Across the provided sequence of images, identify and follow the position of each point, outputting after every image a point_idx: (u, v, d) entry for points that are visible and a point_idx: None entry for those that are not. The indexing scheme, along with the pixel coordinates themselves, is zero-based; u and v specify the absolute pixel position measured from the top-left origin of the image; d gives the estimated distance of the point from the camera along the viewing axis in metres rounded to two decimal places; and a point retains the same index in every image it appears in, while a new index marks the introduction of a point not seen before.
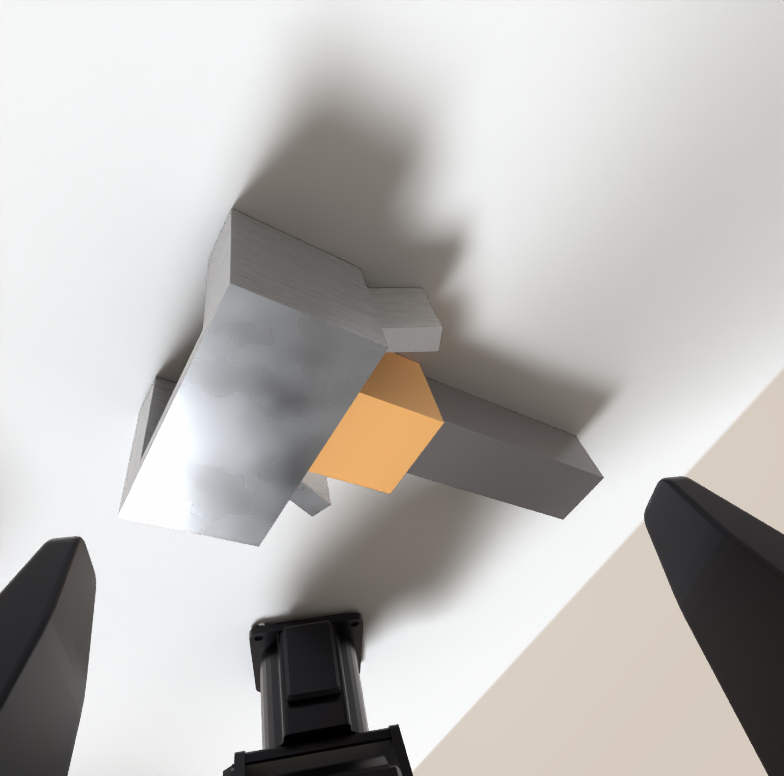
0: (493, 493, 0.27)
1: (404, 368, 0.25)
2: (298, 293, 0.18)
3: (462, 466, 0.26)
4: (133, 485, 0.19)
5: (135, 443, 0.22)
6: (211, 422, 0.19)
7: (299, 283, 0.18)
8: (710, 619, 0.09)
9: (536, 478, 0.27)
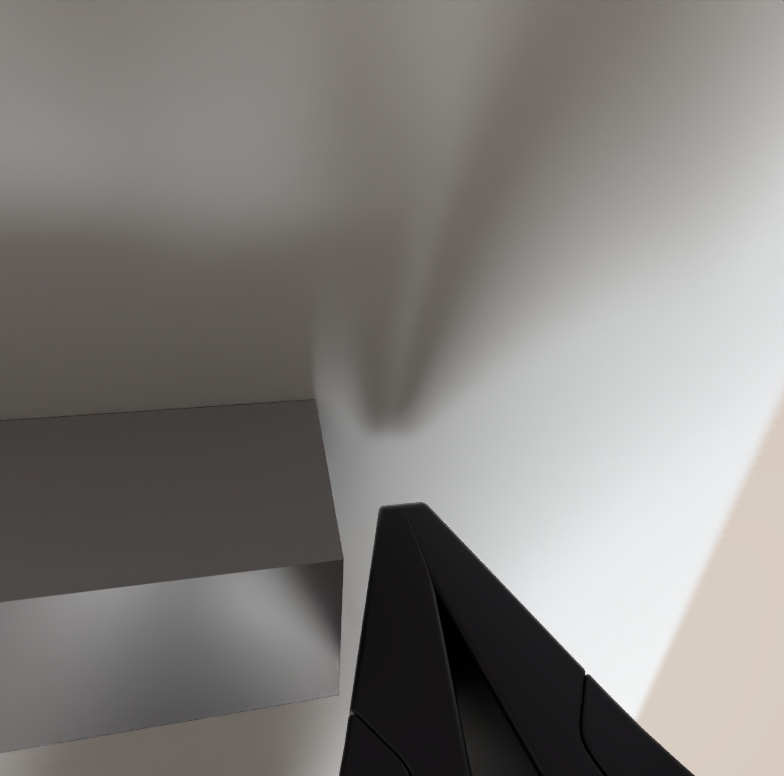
0: None
1: None
2: None
3: None
4: None
5: None
6: None
7: None
8: None
9: (56, 664, 0.07)
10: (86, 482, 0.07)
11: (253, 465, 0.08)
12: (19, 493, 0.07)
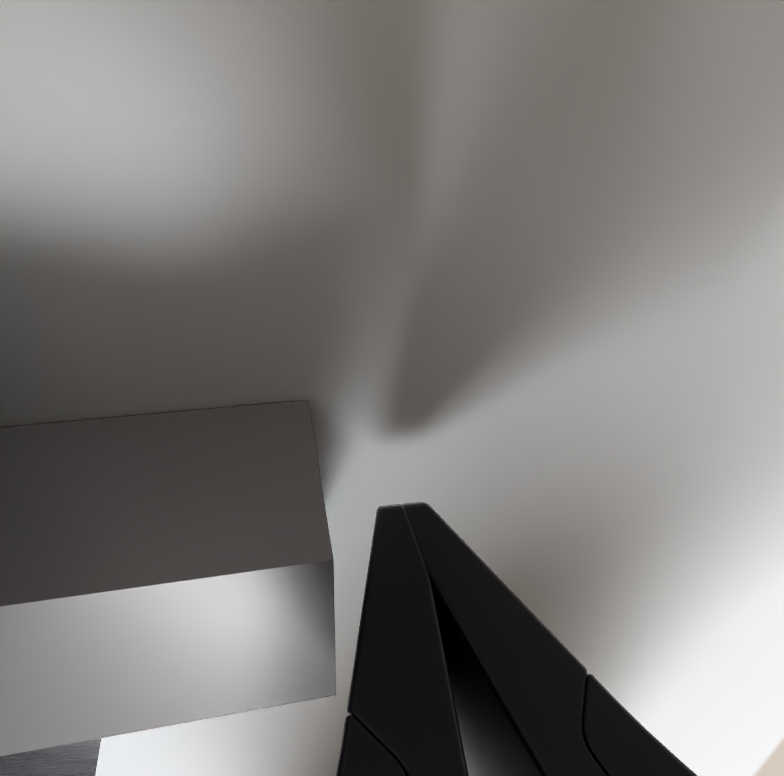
0: None
1: None
2: None
3: None
4: None
5: None
6: None
7: None
8: None
9: (51, 668, 0.07)
10: (78, 487, 0.08)
11: (244, 467, 0.08)
12: (12, 499, 0.07)
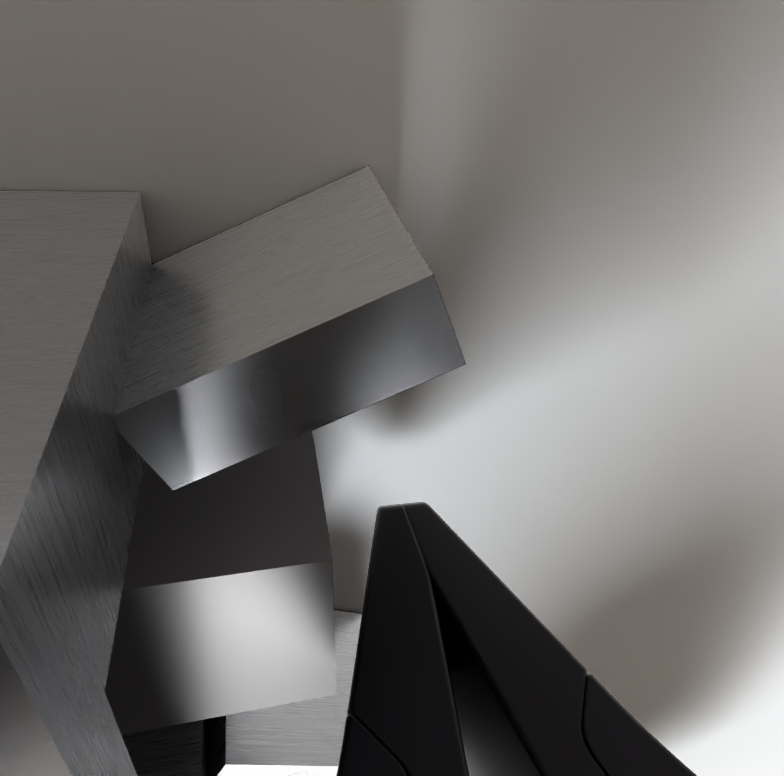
0: None
1: None
2: None
3: None
4: None
5: None
6: None
7: None
8: None
9: None
10: None
11: (244, 467, 0.08)
12: None
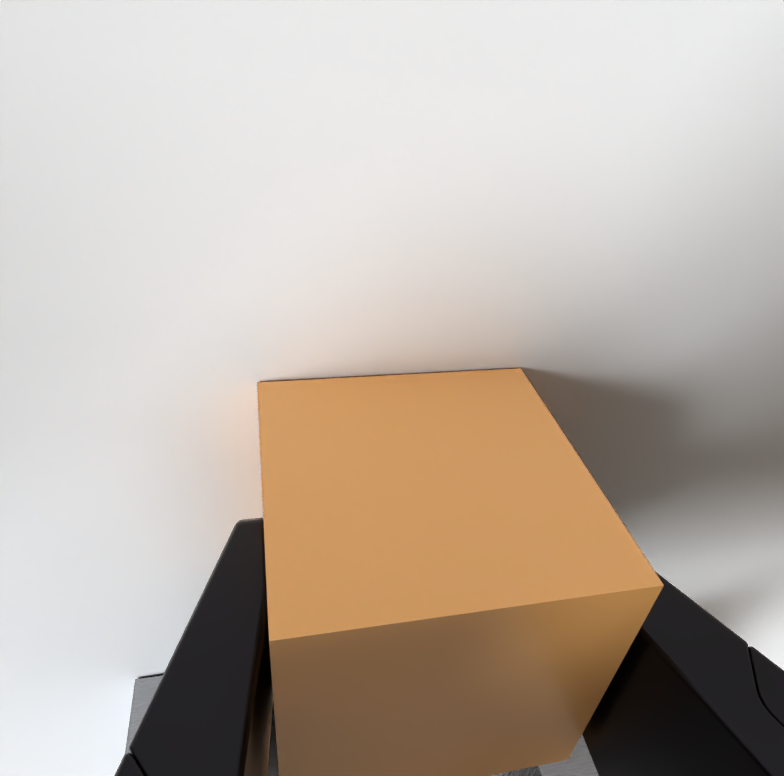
0: None
1: None
2: None
3: None
4: None
5: None
6: None
7: None
8: None
9: None
10: None
11: None
12: None
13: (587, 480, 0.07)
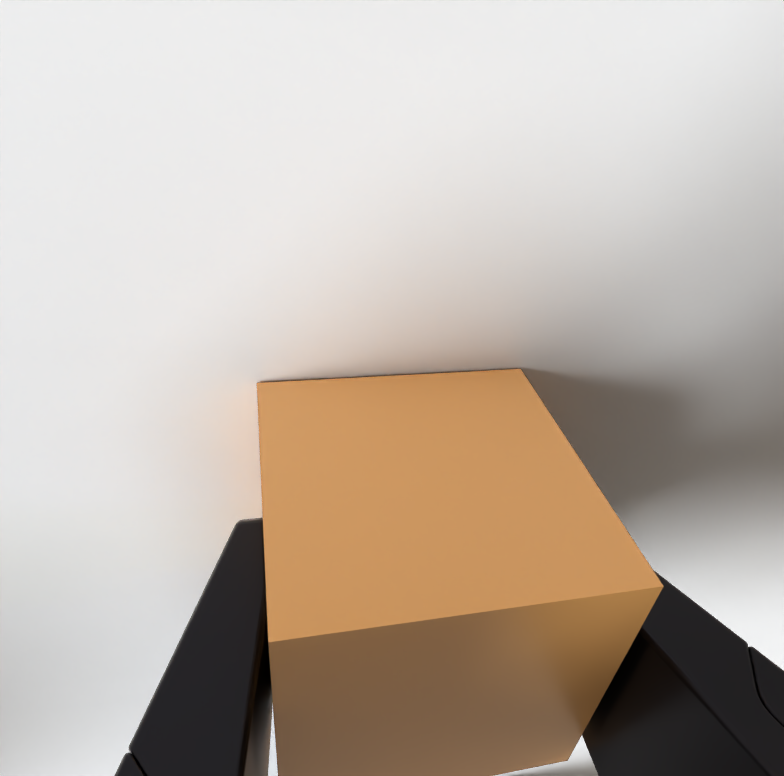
0: None
1: None
2: None
3: None
4: None
5: None
6: None
7: None
8: None
9: None
10: None
11: None
12: None
13: (587, 481, 0.07)
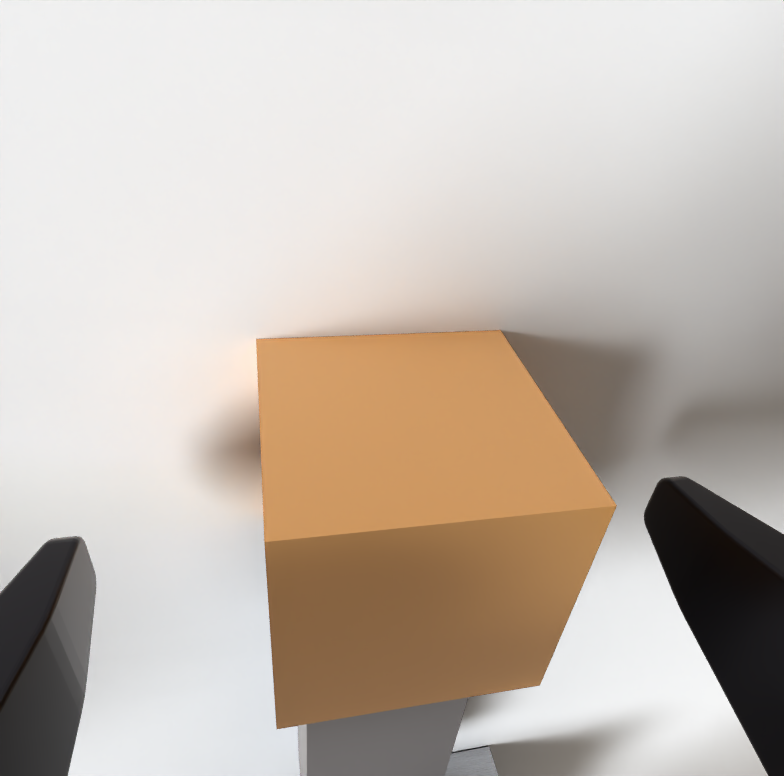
0: None
1: None
2: None
3: (368, 733, 0.11)
4: None
5: None
6: None
7: None
8: (710, 619, 0.09)
9: None
10: None
11: None
12: None
13: (554, 422, 0.08)
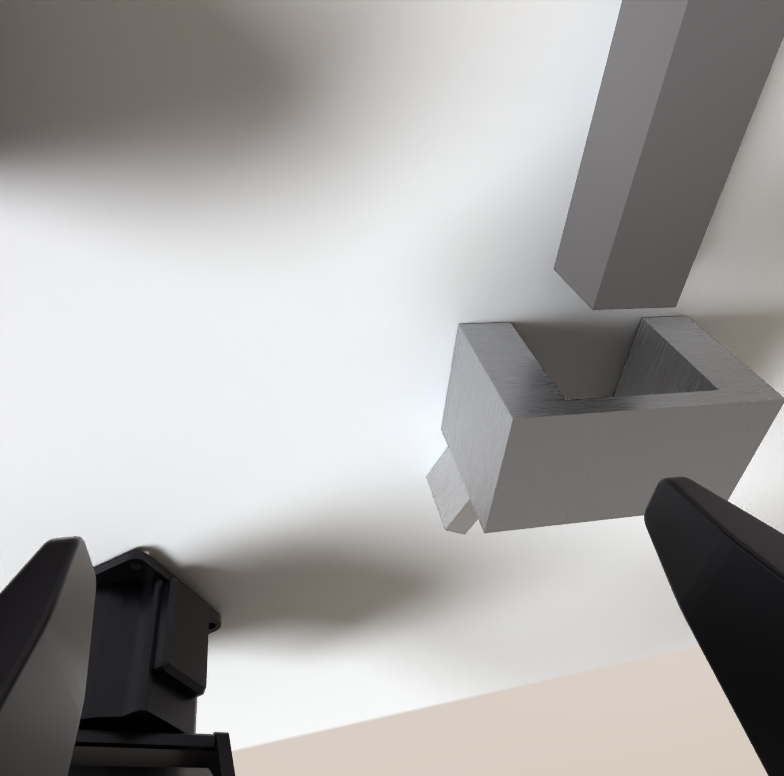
0: (648, 157, 0.16)
1: None
2: None
3: (710, 59, 0.15)
4: (560, 415, 0.18)
5: (493, 358, 0.20)
6: (647, 439, 0.19)
7: None
8: (710, 619, 0.09)
9: (677, 209, 0.18)
10: None
11: None
12: None
13: None
